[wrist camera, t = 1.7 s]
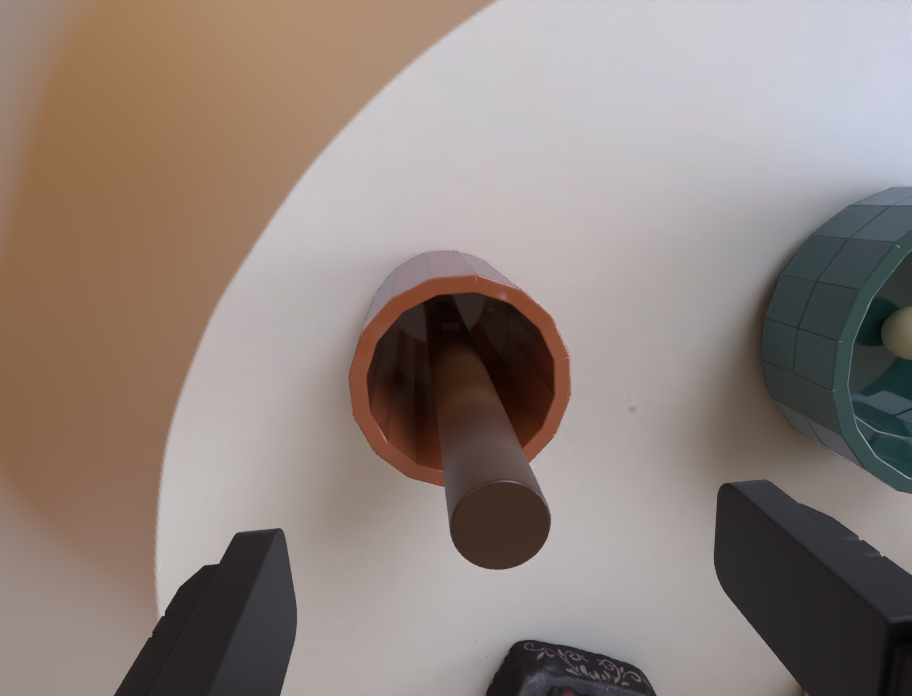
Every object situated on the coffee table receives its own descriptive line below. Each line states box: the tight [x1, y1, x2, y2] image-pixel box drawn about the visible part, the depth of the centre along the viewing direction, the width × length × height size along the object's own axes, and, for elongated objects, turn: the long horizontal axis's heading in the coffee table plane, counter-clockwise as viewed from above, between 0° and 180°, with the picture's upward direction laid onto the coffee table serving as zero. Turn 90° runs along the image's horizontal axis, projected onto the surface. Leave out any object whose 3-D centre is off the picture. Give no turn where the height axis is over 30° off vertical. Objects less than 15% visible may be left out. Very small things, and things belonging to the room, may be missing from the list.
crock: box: [349, 251, 571, 487], centre depth 24 cm, size 8×8×10 cm
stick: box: [426, 301, 551, 570], centre depth 19 cm, size 3×2×18 cm
